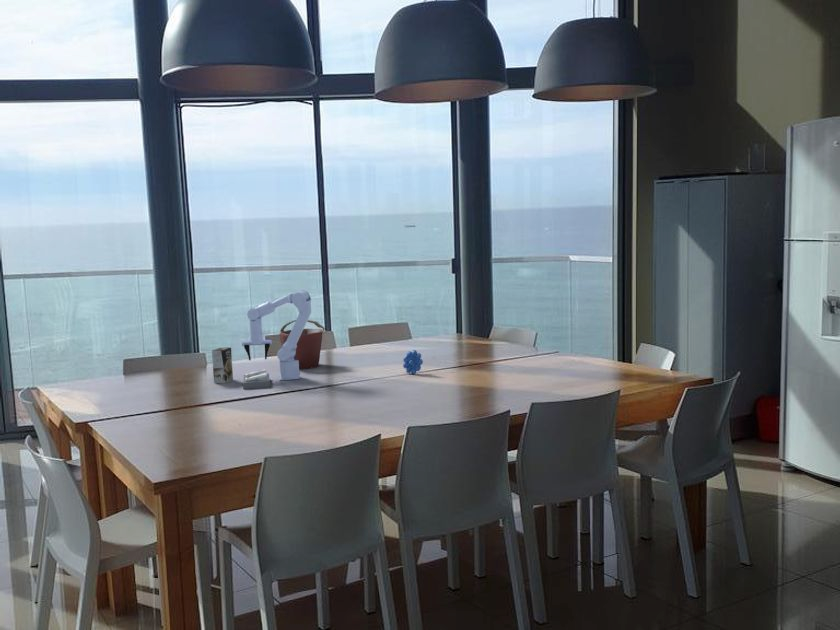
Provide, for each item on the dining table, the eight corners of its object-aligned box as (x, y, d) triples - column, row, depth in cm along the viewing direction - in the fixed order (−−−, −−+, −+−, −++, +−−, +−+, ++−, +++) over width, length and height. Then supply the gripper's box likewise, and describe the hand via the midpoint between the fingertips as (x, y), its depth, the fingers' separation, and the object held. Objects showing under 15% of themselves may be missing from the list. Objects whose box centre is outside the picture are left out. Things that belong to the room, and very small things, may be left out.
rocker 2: (266, 375, 394) (266, 372, 393) (266, 376, 391) (266, 374, 390) (245, 380, 392) (245, 377, 392) (245, 382, 389) (245, 379, 389)
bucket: (334, 364, 443) (332, 317, 440) (307, 371, 424) (305, 323, 421) (299, 361, 456) (296, 316, 453) (271, 368, 437) (269, 321, 434)
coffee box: (225, 383, 402) (223, 350, 400) (213, 383, 404) (211, 350, 402) (233, 379, 411) (231, 347, 409) (221, 379, 413) (219, 347, 411)
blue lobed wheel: (428, 373, 408) (427, 349, 406) (420, 376, 402) (419, 351, 401) (408, 371, 414) (407, 347, 413) (400, 374, 409) (399, 349, 408)
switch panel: (269, 379, 408) (269, 372, 408) (269, 387, 388) (269, 380, 388) (244, 381, 406) (243, 374, 405) (243, 389, 386) (243, 382, 386)
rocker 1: (266, 371, 404) (266, 368, 404) (266, 372, 401) (266, 369, 401) (246, 376, 403) (245, 373, 403) (246, 377, 400) (245, 374, 400)
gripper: (240, 334, 404) (242, 361, 405) (271, 332, 406) (272, 359, 408) (241, 332, 410) (243, 359, 412) (271, 330, 413) (272, 357, 415)
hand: (257, 359), depth 410 cm, fingers open, 7 cm apart
